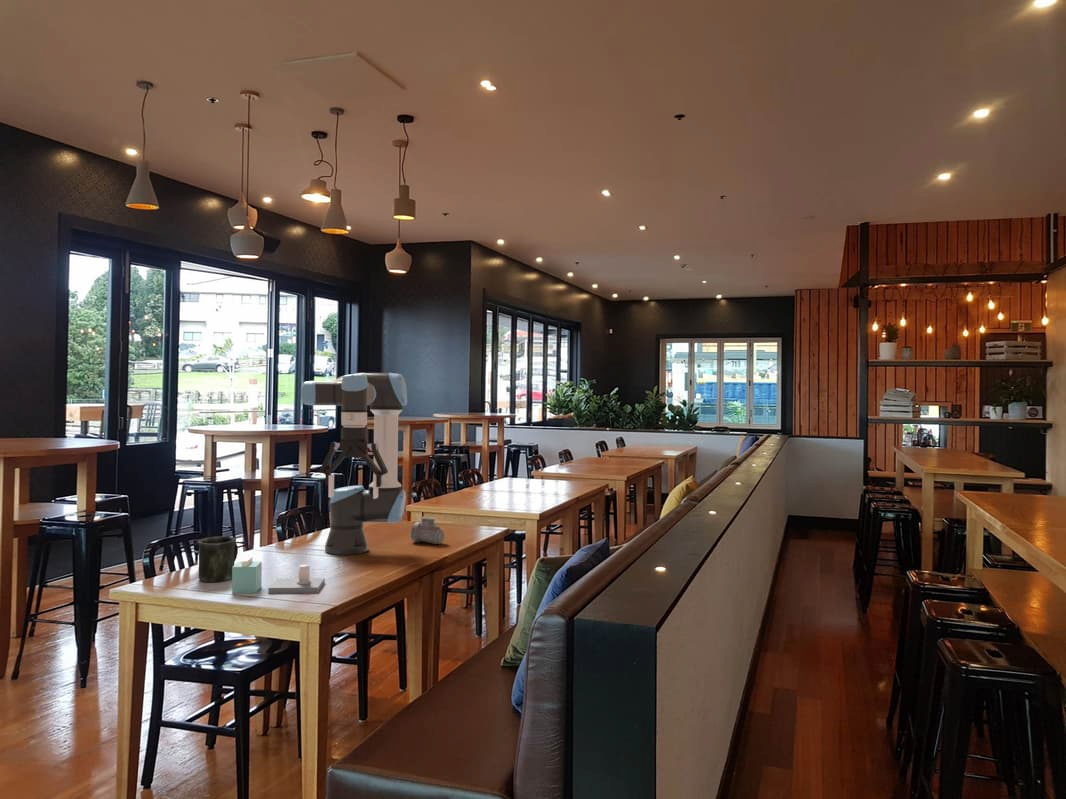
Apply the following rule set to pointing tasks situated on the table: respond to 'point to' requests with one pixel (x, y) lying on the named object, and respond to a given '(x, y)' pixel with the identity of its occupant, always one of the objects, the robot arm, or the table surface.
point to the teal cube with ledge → (246, 576)
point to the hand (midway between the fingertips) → (353, 497)
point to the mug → (216, 558)
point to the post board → (298, 583)
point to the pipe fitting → (427, 531)
